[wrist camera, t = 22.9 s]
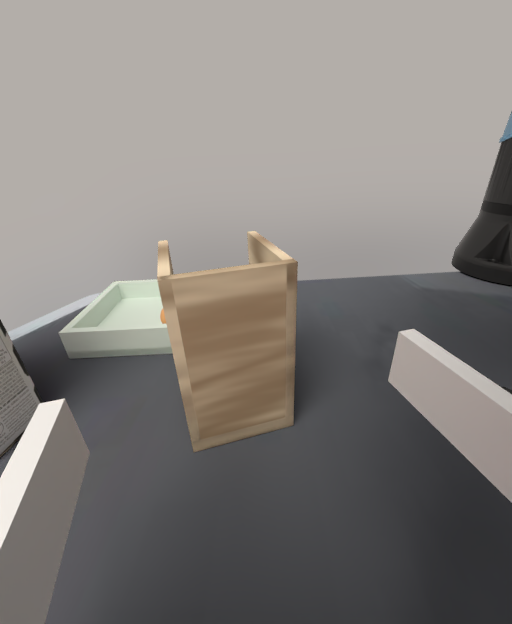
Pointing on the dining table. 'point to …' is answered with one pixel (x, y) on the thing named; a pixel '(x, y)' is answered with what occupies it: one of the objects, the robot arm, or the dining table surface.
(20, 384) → the candy bar box
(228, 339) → the tall wooden crate
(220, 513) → the dining table surface
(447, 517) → the dining table surface
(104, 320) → the tray
